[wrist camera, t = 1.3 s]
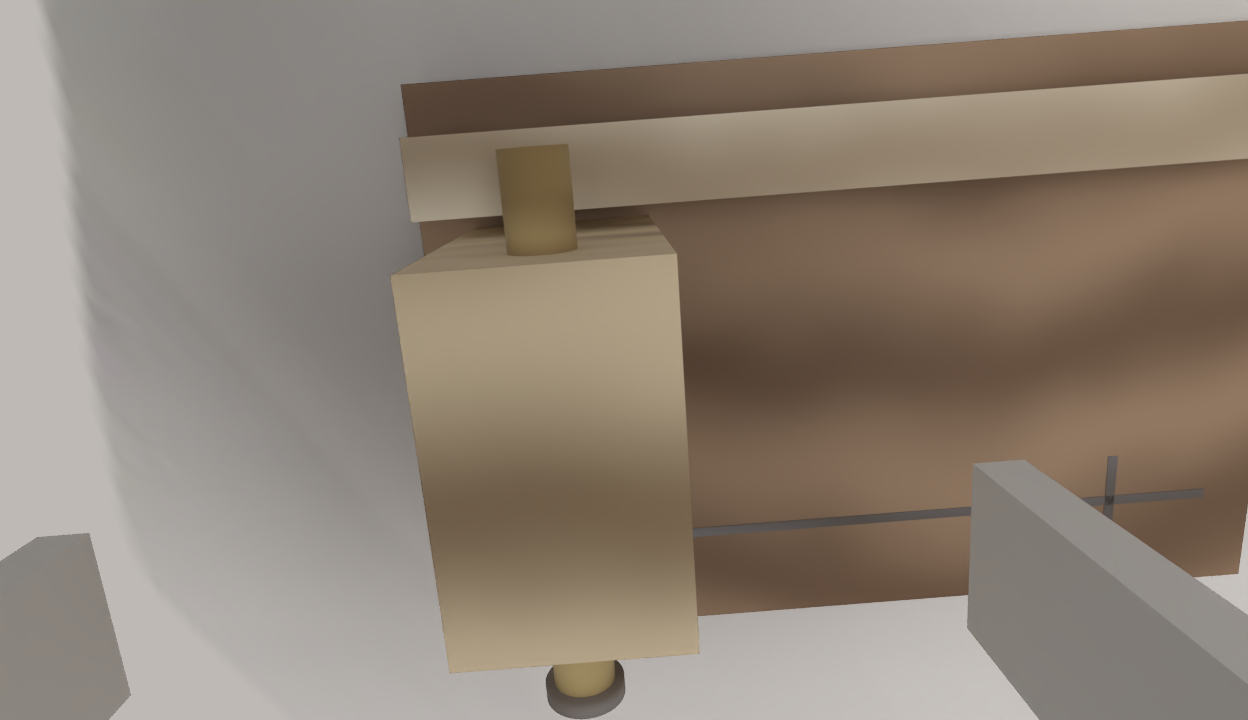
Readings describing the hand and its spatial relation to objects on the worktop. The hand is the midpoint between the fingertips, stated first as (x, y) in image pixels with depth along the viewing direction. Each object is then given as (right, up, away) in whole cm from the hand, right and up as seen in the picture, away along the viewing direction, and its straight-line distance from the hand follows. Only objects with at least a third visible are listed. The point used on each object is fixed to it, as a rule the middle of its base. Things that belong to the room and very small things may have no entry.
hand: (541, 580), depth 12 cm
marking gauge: (0, +3, +12) cm, 12 cm away
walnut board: (+8, +4, +14) cm, 17 cm away
